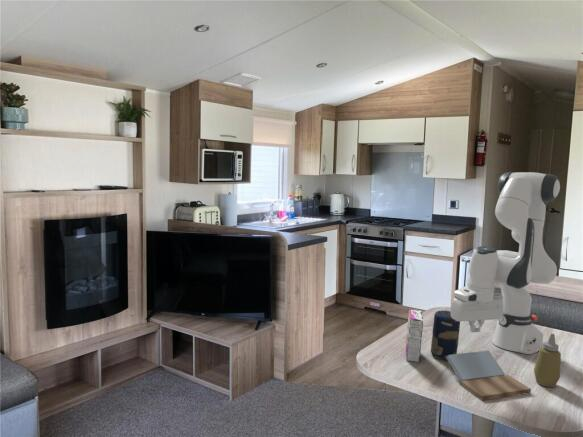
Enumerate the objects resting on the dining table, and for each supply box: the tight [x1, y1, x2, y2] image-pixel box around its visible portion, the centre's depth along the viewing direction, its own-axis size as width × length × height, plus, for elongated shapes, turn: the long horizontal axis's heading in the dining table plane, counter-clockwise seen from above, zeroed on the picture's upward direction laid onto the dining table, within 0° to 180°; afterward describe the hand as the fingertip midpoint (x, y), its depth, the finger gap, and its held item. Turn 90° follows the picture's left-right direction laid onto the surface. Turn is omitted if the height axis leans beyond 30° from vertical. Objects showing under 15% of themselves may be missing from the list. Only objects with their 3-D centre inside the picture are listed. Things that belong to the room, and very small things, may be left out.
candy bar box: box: [405, 309, 424, 363], centre depth 179 cm, size 11×5×16 cm, turn 168°
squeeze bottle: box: [533, 333, 562, 388], centre depth 162 cm, size 8×8×18 cm
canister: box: [430, 310, 461, 361], centre depth 180 cm, size 10×10×18 cm
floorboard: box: [460, 374, 532, 401], centre depth 157 cm, size 20×10×2 cm, turn 110°
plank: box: [446, 350, 506, 382], centre depth 166 cm, size 18×10×2 cm
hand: (474, 331), depth 166 cm, fingers closed
